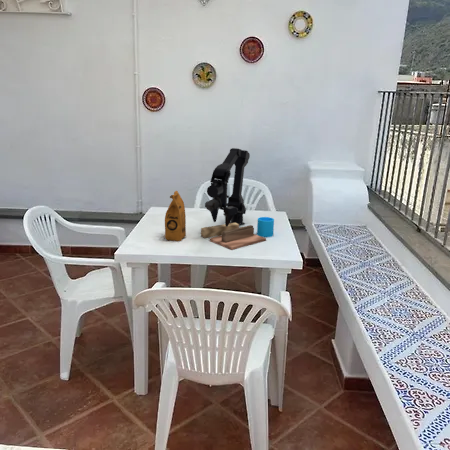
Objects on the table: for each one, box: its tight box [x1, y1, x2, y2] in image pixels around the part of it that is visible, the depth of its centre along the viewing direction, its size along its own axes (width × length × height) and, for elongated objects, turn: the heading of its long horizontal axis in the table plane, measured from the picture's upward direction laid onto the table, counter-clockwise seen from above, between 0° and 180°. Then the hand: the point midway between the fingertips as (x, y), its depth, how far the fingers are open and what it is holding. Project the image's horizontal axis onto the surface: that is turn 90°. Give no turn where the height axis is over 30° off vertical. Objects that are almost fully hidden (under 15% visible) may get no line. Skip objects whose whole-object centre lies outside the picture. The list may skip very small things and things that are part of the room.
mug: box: [256, 216, 275, 238], centre depth 222 cm, size 12×8×8 cm
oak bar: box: [200, 223, 240, 239], centre depth 220 cm, size 20×4×4 cm, turn 122°
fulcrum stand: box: [209, 224, 267, 251], centre depth 211 cm, size 16×22×6 cm
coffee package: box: [164, 190, 187, 242], centre depth 211 cm, size 10×12×22 cm
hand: (220, 224), depth 219 cm, fingers open, 9 cm apart
